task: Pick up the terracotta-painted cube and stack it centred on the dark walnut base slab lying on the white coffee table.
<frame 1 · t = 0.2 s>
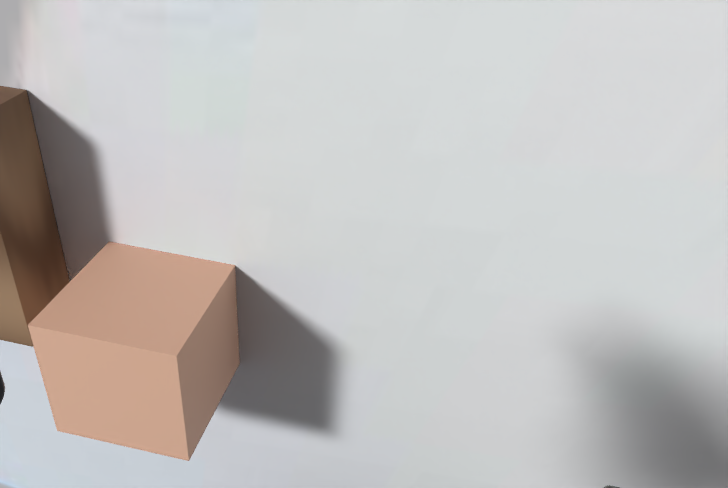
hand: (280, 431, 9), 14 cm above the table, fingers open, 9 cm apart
cube: (177, 304, 29), on the table
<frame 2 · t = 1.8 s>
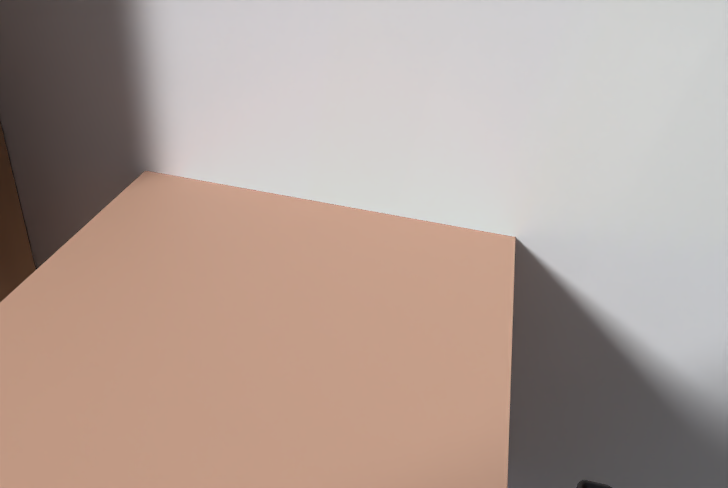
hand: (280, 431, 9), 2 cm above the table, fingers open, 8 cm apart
cube: (316, 342, 11), on the table
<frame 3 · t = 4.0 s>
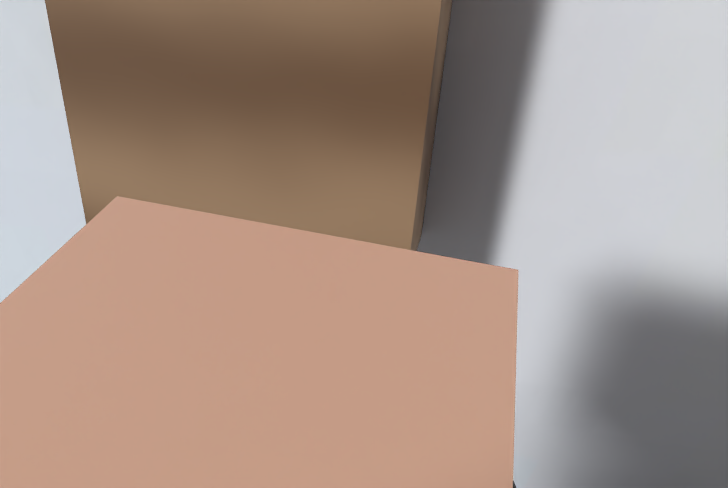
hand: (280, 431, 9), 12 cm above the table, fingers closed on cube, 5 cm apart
base slab: (272, 61, 19), on the table
cube: (303, 379, 10), point 11 cm above the table, touching gripper
when the fingers open (5 cm above the table, at t = 5.8 s): cube drops 1 cm, resting on base slab.
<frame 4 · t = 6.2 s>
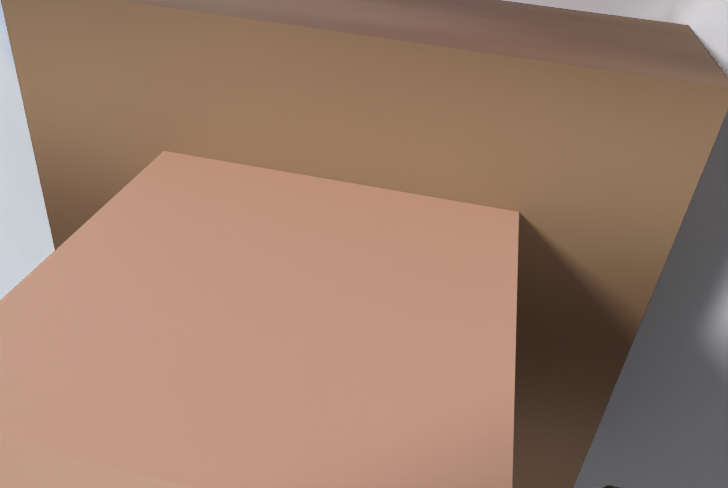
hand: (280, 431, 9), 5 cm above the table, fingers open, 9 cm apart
base slab: (359, 232, 14), on the table
cube: (326, 320, 11), point 3 cm above the table, touching base slab
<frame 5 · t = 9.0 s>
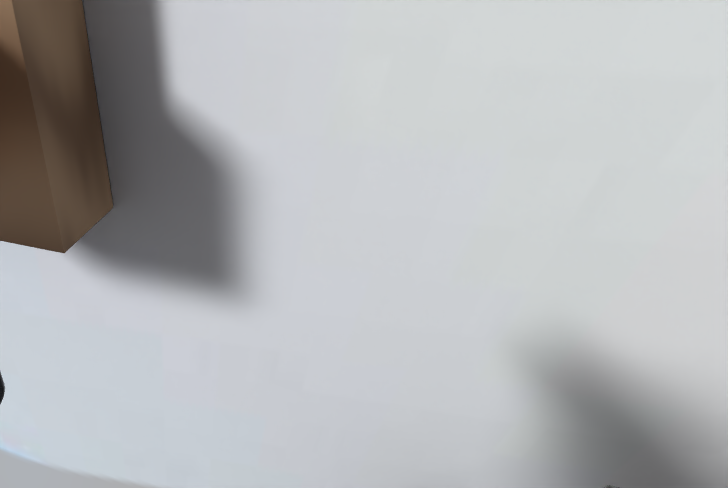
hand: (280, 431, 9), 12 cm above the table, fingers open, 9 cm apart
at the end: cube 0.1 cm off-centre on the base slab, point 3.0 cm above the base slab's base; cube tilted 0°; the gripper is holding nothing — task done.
